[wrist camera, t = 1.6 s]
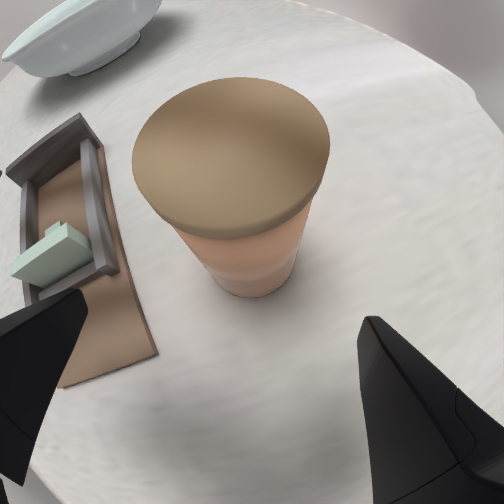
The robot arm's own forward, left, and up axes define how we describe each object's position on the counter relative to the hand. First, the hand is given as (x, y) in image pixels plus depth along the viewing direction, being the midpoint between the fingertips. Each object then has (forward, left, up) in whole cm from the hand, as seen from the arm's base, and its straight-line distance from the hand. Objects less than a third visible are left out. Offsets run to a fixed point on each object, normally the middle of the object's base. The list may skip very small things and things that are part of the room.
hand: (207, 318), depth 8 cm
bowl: (+36, +40, -12) cm, 55 cm away
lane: (+1, +17, -12) cm, 21 cm away
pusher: (+1, +17, -11) cm, 20 cm away
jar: (+6, +1, -12) cm, 13 cm away
